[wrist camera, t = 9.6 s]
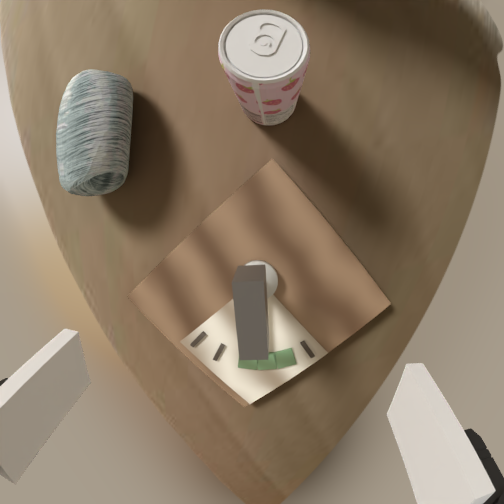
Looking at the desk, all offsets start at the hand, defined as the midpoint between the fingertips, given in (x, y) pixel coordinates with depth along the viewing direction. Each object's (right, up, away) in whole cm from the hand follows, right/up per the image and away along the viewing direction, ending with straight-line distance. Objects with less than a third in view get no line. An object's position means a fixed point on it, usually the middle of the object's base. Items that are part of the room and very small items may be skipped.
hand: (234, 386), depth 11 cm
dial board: (+1, 0, +24) cm, 24 cm away
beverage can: (+2, +21, +19) cm, 28 cm away
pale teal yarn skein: (-15, +18, +21) cm, 32 cm away
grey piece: (+1, 0, +21) cm, 21 cm away
